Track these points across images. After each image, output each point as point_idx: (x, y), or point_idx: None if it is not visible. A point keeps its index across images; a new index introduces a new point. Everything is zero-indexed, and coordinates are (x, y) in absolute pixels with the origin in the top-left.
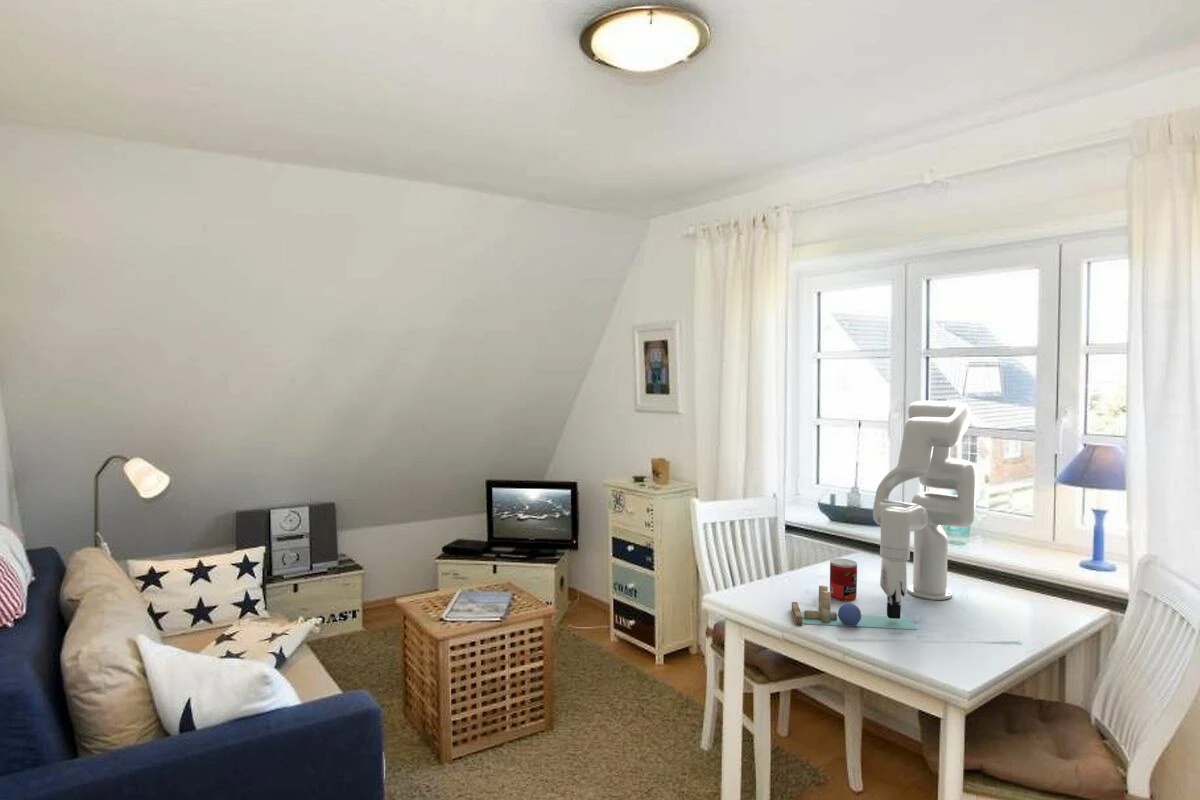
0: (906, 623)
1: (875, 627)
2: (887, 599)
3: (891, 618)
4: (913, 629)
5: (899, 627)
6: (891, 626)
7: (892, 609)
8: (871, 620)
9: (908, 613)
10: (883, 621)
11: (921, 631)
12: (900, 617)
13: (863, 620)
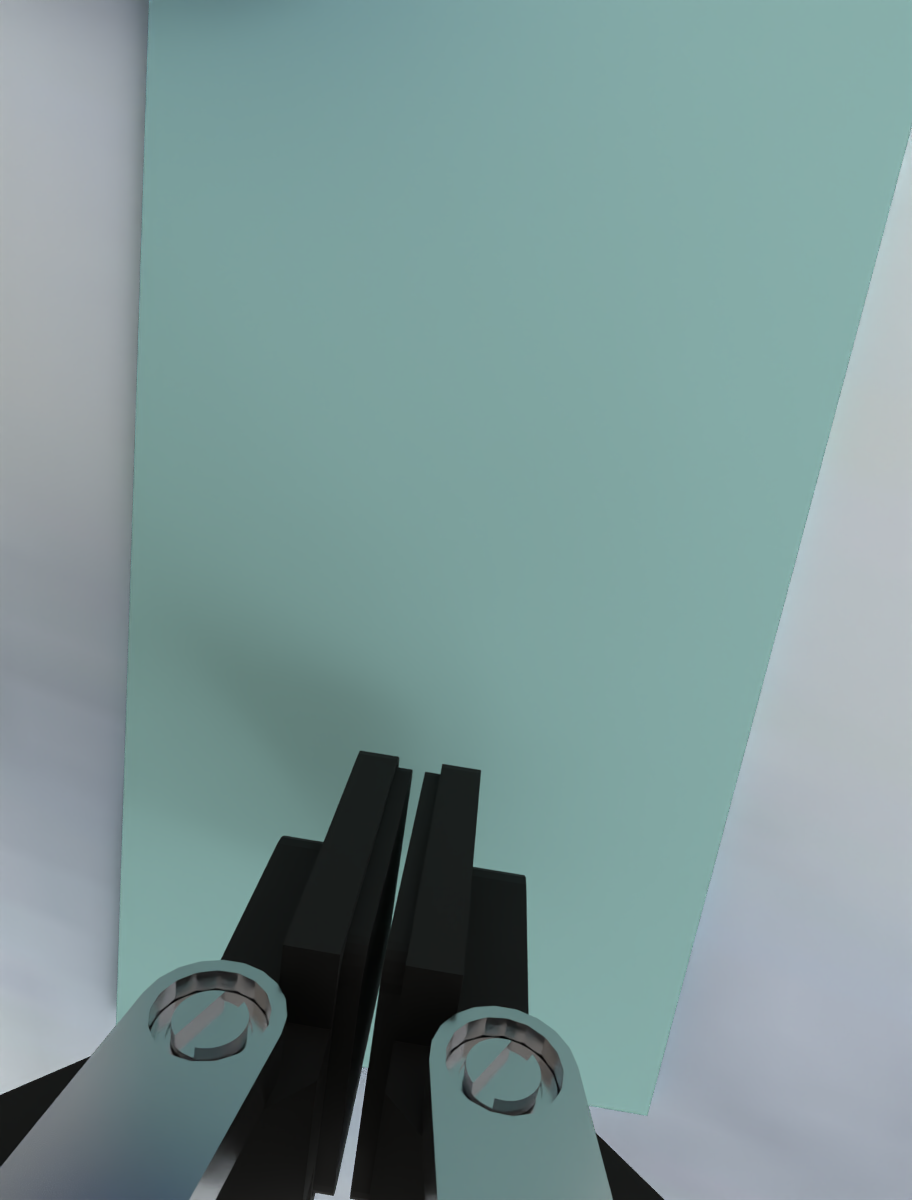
0: None
1: (141, 372)
2: (557, 1064)
3: (595, 842)
4: (122, 973)
5: (154, 800)
6: (193, 688)
7: (245, 928)
8: (501, 425)
9: (848, 1187)
10: (444, 644)
11: (67, 1044)
12: (634, 1001)
13: (501, 240)
